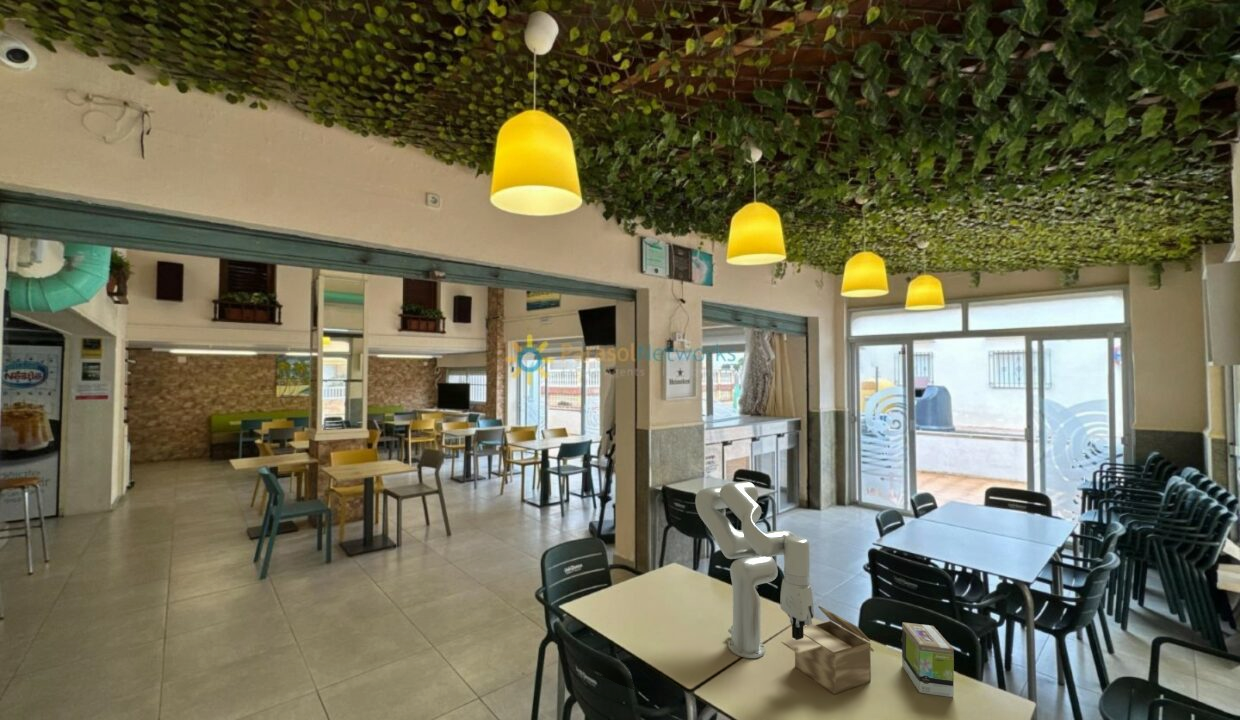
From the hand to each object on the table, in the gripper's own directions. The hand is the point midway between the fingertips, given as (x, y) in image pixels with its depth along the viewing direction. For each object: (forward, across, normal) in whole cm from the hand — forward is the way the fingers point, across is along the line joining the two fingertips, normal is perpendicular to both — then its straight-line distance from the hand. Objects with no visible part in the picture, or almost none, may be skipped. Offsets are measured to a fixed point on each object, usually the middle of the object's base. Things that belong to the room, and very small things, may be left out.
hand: (797, 637), depth 153 cm
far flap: (+3, 0, +24) cm, 24 cm away
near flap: (+3, 0, +7) cm, 7 cm away
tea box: (+15, +14, +40) cm, 45 cm away
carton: (+15, -1, +15) cm, 21 cm away
